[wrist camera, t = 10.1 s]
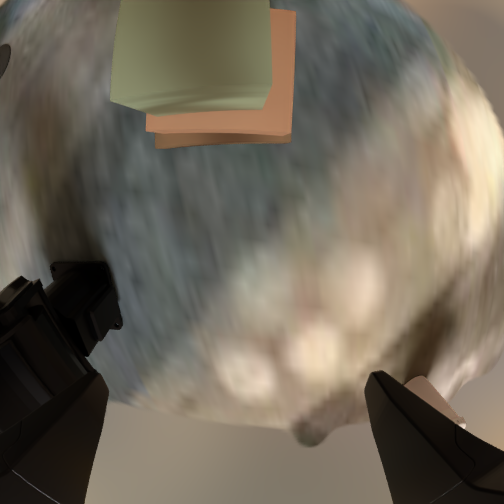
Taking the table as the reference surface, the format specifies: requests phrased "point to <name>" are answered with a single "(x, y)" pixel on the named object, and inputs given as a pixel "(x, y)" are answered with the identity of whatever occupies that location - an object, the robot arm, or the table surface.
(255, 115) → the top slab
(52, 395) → the robot arm
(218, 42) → the cube
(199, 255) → the table surface
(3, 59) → the sundae
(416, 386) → the smoothie
